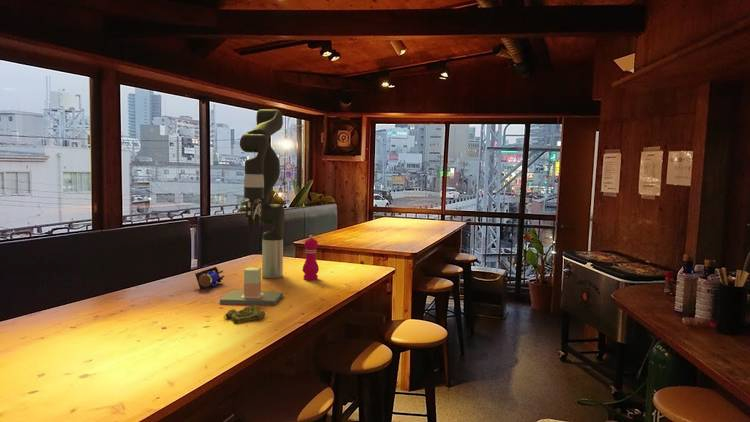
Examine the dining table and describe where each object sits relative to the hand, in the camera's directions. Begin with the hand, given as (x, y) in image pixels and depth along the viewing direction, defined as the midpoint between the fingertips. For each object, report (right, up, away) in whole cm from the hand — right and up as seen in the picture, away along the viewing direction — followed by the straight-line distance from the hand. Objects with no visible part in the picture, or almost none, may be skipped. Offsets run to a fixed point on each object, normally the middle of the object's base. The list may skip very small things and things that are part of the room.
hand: (253, 227), depth 192 cm
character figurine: (-21, -25, +12) cm, 35 cm away
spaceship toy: (+5, -29, -27) cm, 40 cm away
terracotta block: (+1, -25, -7) cm, 26 cm away
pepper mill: (+18, -24, +31) cm, 43 cm away
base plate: (+1, -27, -7) cm, 28 cm away
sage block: (+1, -20, -8) cm, 21 cm away
